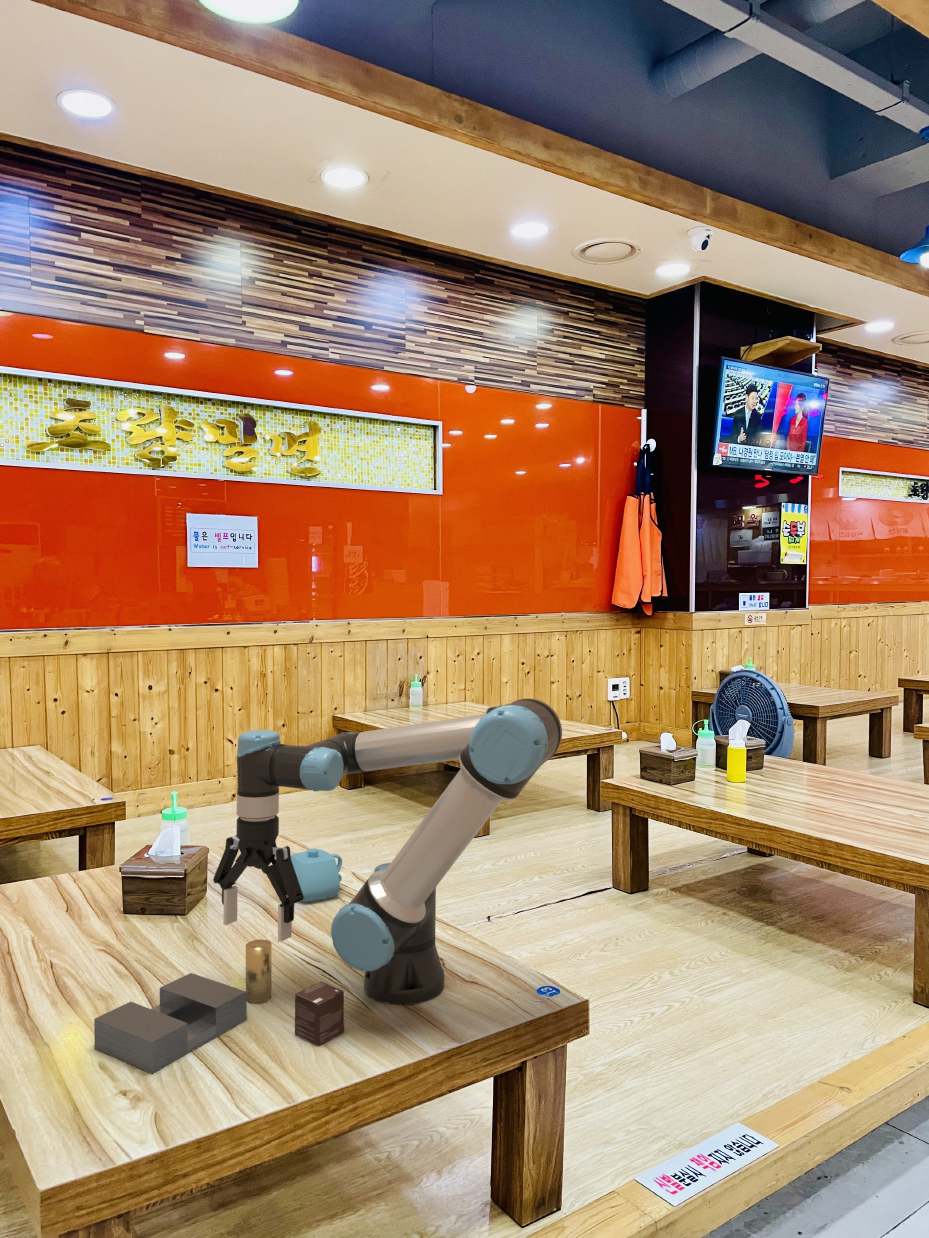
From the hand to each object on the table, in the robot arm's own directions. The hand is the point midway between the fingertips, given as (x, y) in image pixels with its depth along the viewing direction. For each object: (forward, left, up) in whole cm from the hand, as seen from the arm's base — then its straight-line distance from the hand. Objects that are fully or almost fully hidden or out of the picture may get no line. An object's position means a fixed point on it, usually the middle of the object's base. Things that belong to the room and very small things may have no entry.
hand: (256, 930), depth 159 cm
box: (-18, +4, -13) cm, 23 cm away
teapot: (+28, -45, -13) cm, 54 cm away
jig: (+3, +17, -13) cm, 21 cm away
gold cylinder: (0, 0, -13) cm, 13 cm away
